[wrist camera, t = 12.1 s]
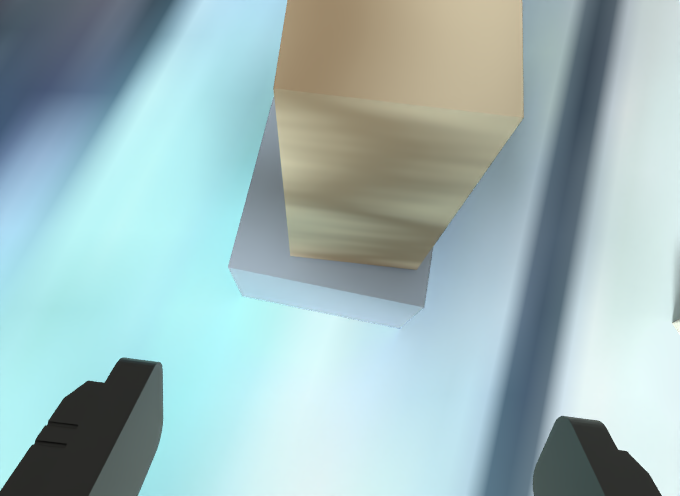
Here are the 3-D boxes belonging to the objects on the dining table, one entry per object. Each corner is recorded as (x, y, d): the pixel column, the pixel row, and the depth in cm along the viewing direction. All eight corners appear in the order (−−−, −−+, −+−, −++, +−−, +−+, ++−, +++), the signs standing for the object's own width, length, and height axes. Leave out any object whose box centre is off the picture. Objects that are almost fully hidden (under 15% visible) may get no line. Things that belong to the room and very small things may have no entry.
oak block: (422, 156, 21) (521, -72, 11) (416, 269, 19) (523, 118, 10) (305, 143, 20) (303, -100, 11) (290, 255, 19) (273, 88, 10)
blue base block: (422, 185, 26) (449, 133, 21) (399, 329, 24) (423, 307, 19) (278, 155, 26) (273, 96, 21) (242, 297, 24) (227, 267, 19)
